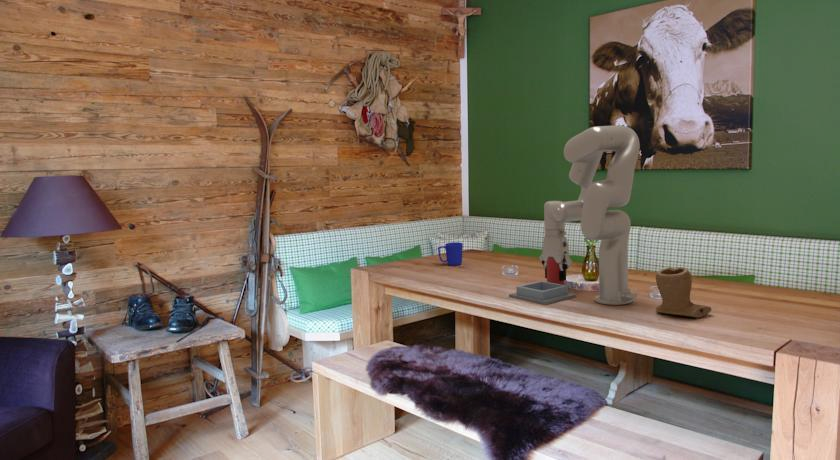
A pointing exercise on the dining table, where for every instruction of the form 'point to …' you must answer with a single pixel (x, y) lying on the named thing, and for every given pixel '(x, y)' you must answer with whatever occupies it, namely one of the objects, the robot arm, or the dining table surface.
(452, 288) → the dining table surface
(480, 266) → the dining table surface
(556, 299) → the box
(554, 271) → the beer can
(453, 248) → the mug
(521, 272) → the dining table surface
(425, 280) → the dining table surface
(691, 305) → the brown l-shaped piece
